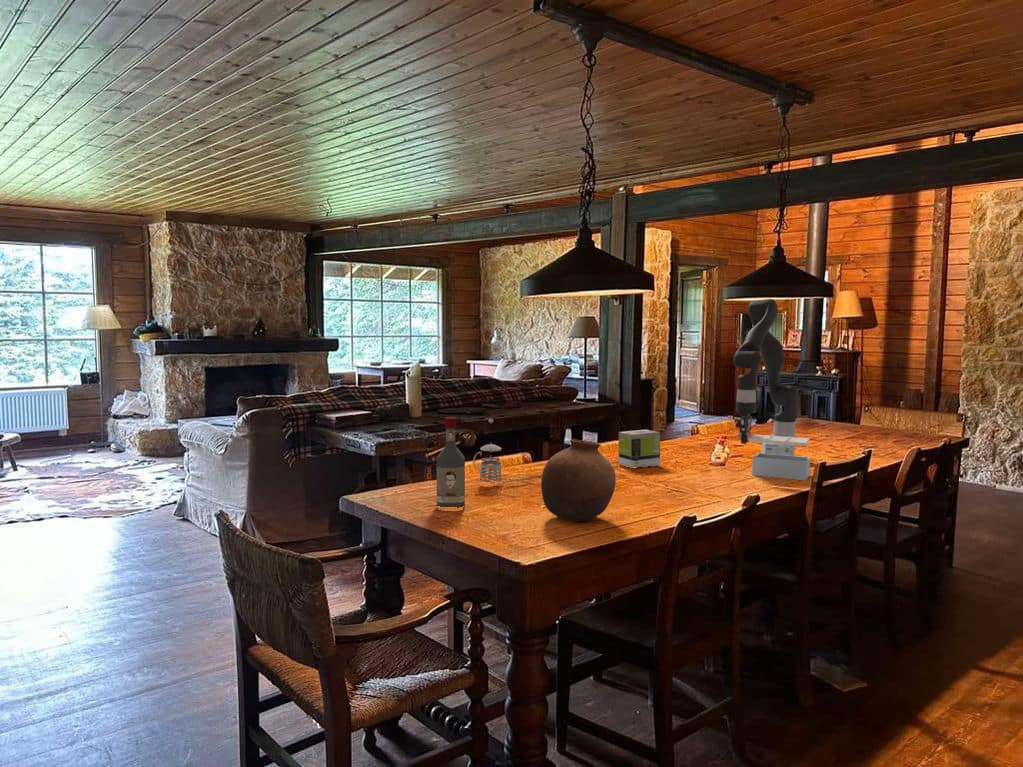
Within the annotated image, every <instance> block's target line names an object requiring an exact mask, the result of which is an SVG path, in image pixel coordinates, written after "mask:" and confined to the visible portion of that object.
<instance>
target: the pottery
mask: <svg viewBox="0 0 1023 767" xmlns="http://www.w3.org/2000/svg"><path fill="white" fill-rule="evenodd" d="M569 441H570V444H571V446H569V447H567V448H565V449H563V450H561V451H559V452H557V453H555V454H554V455H553V456H551V457H550V458H549V459H548V461H547V462H546V463H545V465H544V467H543V470H542V474H541V483H540V485H541V486H540V488H541V495H542V501H543V504H544V506H545V508H546V509H547V511H549V512H550V513H551V514H553V515H555V516H556V517H559V518H561V519H565V520H569V521H574V520H575V522H576V521H577V522H585V521H590V520H592V519H594V518H596V517H598V516H601V515H602V514H603V513H604V511H605V510H606V509H607V507H608V506H609V503H610V502H611V500H612V498H613V495H614V493H615V489H616V480H617V478H616V477H617V476H616V472H615V469H614V467H613V465H612V463H610V461H609V460H608V459H607V458H606V457H605V456H604V455H603V454H601V453H600V451H599V450H598V449H599V448H600V447H601V446H602V444H601V443H599V442H594V441H587V440H583V439H580V440H579V439H573V438H570V439H569Z"/></svg>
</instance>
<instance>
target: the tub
mask: <svg viewBox="0 0 1023 767" xmlns="http://www.w3.org/2000/svg"><path fill="white" fill-rule="evenodd" d="M751 469H752V473H751V475H752V476H755V477H756V476H758V477H767V478H774V479H775V478H777V479H787V480H788V479H789V480H795V481H796V480H797V481H798V480H799V481H807V479H809V477H810V476H811V475H810V474H811V473H810V472H811V470H810V469H811V457H810V456H798V455H794V456H789V455H777V454H765V453H762V452H757V453H756V454H755V455H754V456H752V468H751Z"/></svg>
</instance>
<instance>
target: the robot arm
mask: <svg viewBox="0 0 1023 767" xmlns="http://www.w3.org/2000/svg"><path fill="white" fill-rule="evenodd" d="M778 313H779V307H778V303H777V301H776V300H775V299H774V298H773V299H772V298H766V299H757V300H753V301H750V303H749V304H748V315H749V318H750V320H751V321H750V322H751V324H752V326H753V327H752V328H751V329H750V330H749V331H748V332H747V334H746V336H745V338H744V341H743V343H742V344H741V345H740V347H738V349H737V350H736V351H735V353H734V355H733V359H732V361H733V365H734V366H735V368H736V369H747V370H748V369H749V370H750V371H749V372H748V373H743V374H740V375H738V376H737V387H736V388H737V391H736V405H735V407H736V409H735V410H736V411H735V412H737V413H740V414H741V415H740V417H739V420H738V422H739V424H738V425H739V432H740V433H741V440H740V444H741V445H747V443H750V442H749V440H747V434H748V433H747V432H750V433H751V430H752V421H753V420H752V419H753V416H752V415H751V414H755V413H756V411H757V409H756V408H757V392H756V389H757V385H756V384H757V377H758V372H759V370H760V366H761V362H763V365H764V370H765V374H766V378H767V384H768V391H769V397H770V399H771V402H772V403H773V404H774V405H776V406H783V407H784V410H782V411H781V412H777V413H775V414H773V431H772V432H773V434H772V435H773V436H782V437H789V436H791V437H796V422H797V420H796V419H797V416H798V408H799V389H798V388H797V387H796V386H795V385H785V384H782V383H781V380H780V374H781V370H782V369H783V366H784V364H785V360H786V356H785V352H784V348H783V345H782V343H781V342H780V340H778V339H777V338H776V337H775V336H774V335H773V334H772V333H771V332H770V331H769V330H770V329H771V328H772V326H773V325H774V322H775V321H776V319H777V317H778ZM795 446H796V445H791V454H790V456H795V451H796V450H795V449H796V447H795Z"/></svg>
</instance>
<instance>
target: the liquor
mask: <svg viewBox="0 0 1023 767" xmlns="http://www.w3.org/2000/svg"><path fill="white" fill-rule="evenodd" d="M444 428H445V445H444V448H443V449H442V450H441V451H440V452H439V453H438V455H437V458H436V507H437V506H440V507H457V508H459V507H463V506H465V507H466V491H465V490H466V485H465V484H466V483H465V482H466V470H465V469H466V462H465V461H466V460H465V459H466V458H465V456H464V454H463V453H462V452H461V451H460V449H459V448H458V447H457V443H456V428H457V417H455V416H447V417H444Z"/></svg>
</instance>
